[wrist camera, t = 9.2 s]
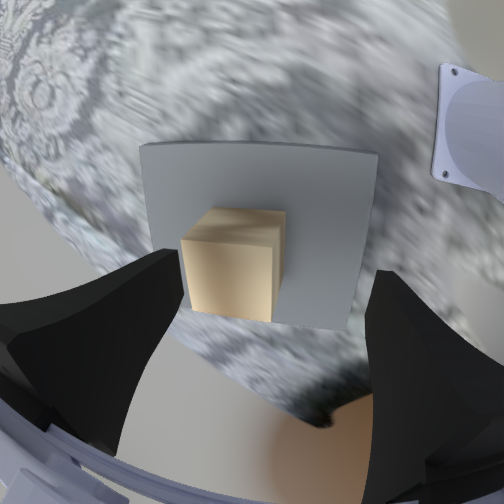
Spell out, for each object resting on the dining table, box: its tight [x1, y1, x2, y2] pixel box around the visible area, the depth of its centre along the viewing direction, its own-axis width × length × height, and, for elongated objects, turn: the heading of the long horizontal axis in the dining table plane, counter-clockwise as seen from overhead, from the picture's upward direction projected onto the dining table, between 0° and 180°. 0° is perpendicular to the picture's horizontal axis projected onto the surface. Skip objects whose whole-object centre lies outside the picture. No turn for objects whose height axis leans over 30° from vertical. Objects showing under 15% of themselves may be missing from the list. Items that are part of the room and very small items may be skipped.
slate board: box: [139, 141, 379, 331], centre depth 21 cm, size 16×14×1 cm
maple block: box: [180, 207, 286, 323], centre depth 18 cm, size 5×5×5 cm
